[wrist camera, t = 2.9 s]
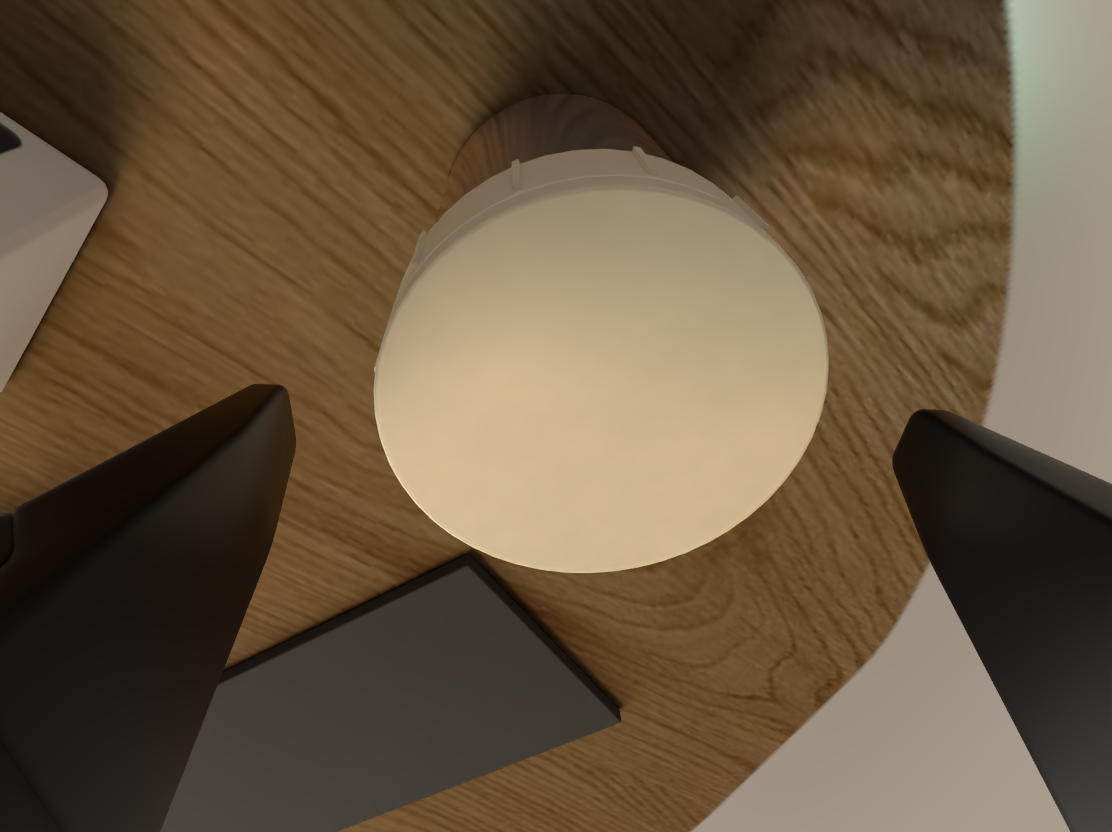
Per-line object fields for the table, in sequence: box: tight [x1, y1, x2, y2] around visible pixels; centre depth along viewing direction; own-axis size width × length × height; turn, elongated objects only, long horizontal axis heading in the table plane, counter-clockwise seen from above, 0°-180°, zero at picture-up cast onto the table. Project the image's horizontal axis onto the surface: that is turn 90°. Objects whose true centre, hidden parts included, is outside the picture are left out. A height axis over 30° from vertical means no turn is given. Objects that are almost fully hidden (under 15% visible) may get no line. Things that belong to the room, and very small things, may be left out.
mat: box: [160, 554, 621, 832], centre depth 31 cm, size 40×12×1 cm, turn 120°
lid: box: [374, 146, 829, 573], centre depth 10 cm, size 6×6×2 cm
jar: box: [436, 94, 674, 223], centre depth 14 cm, size 6×6×9 cm
